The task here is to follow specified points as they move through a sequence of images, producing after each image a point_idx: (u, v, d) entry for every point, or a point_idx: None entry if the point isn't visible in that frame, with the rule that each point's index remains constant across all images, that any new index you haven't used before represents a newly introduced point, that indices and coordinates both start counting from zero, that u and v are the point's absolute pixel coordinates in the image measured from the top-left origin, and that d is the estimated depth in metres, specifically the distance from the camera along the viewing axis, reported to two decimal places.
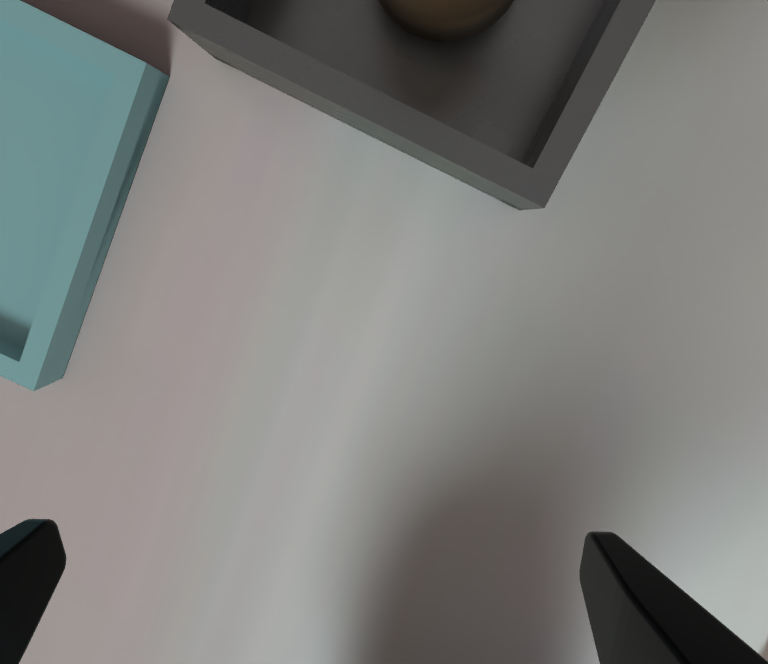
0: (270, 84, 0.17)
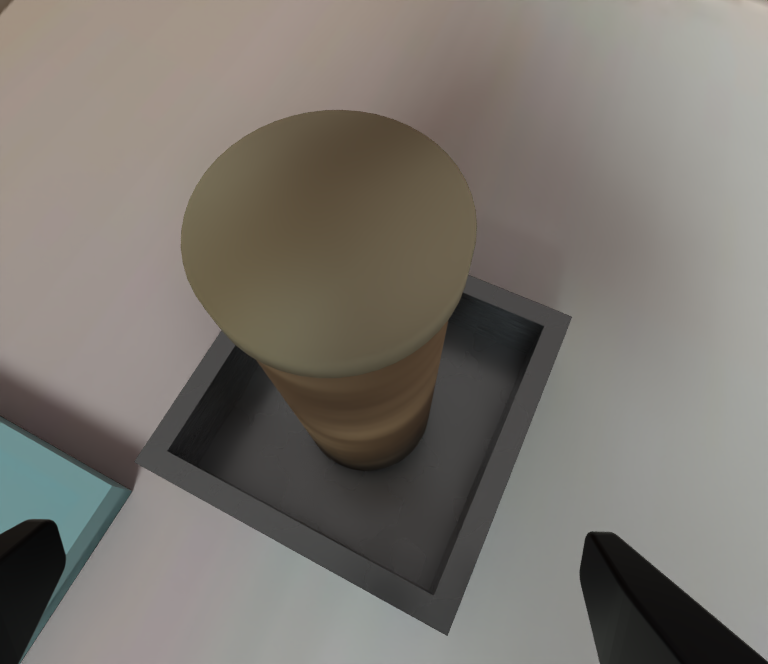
0: None
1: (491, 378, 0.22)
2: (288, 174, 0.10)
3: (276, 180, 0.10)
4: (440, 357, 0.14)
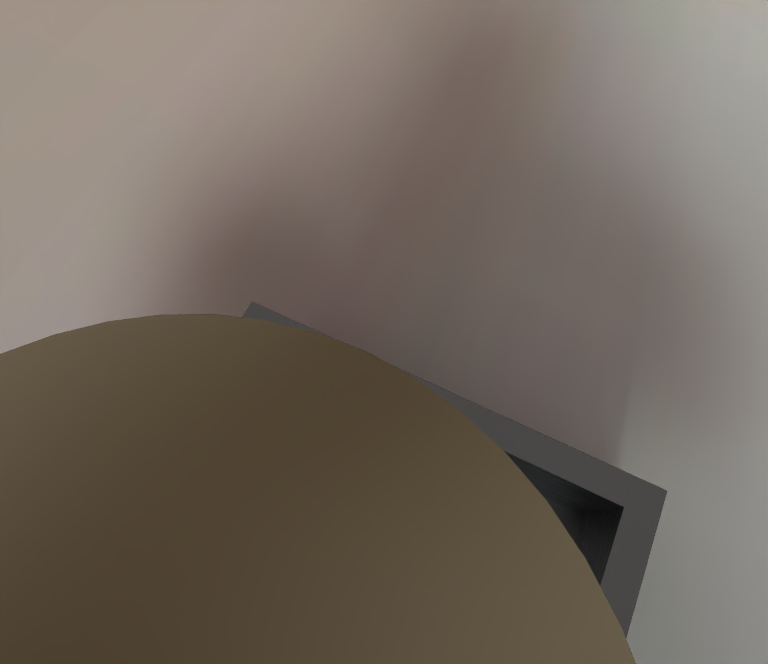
0: None
1: None
2: None
3: None
4: None
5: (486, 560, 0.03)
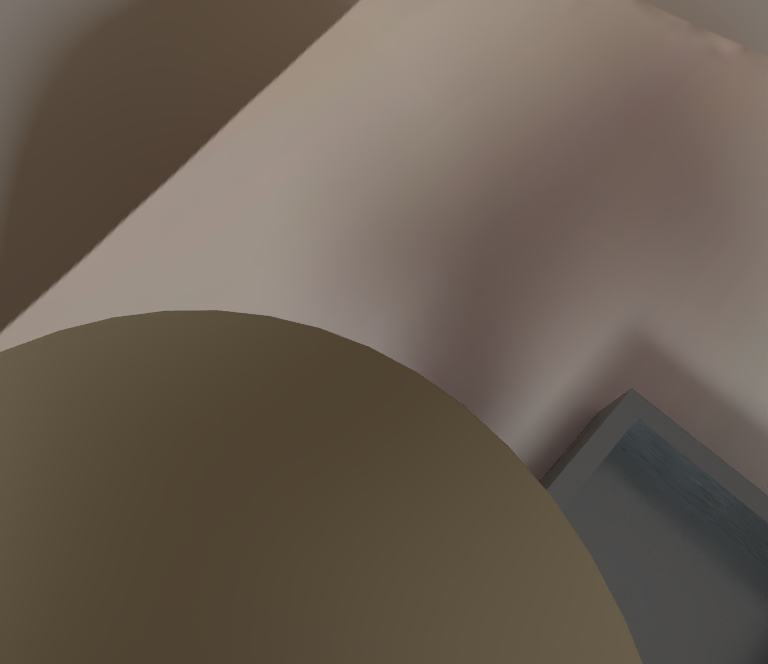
0: None
1: None
2: (5, 575, 0.03)
3: None
4: None
5: (490, 555, 0.03)
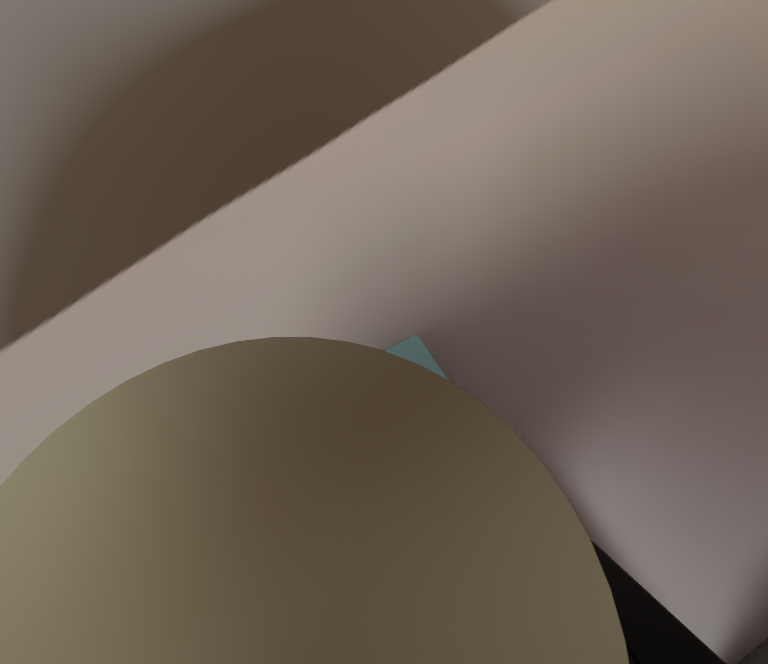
0: None
1: None
2: (179, 514, 0.04)
3: (149, 533, 0.04)
4: None
5: (504, 502, 0.04)
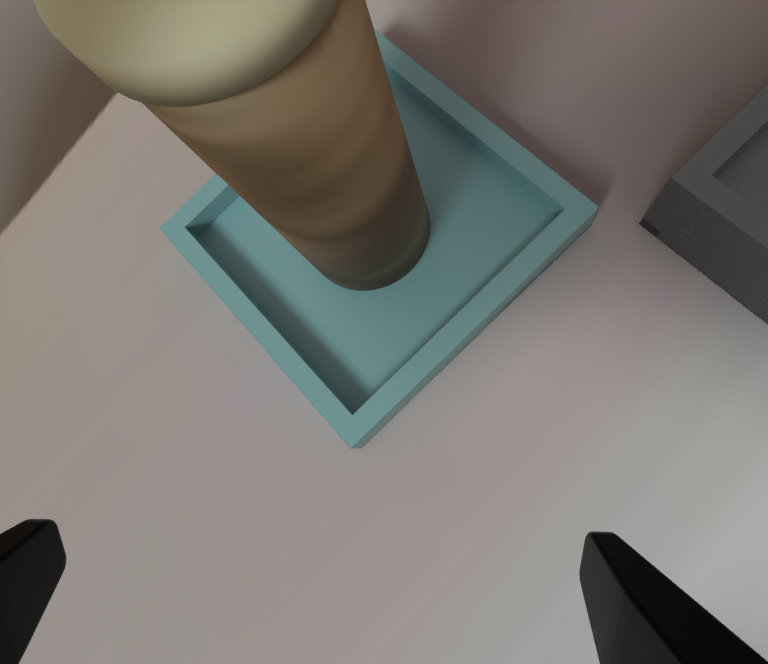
0: (693, 258, 0.18)
1: None
2: None
3: None
4: (391, 107, 0.13)
5: None
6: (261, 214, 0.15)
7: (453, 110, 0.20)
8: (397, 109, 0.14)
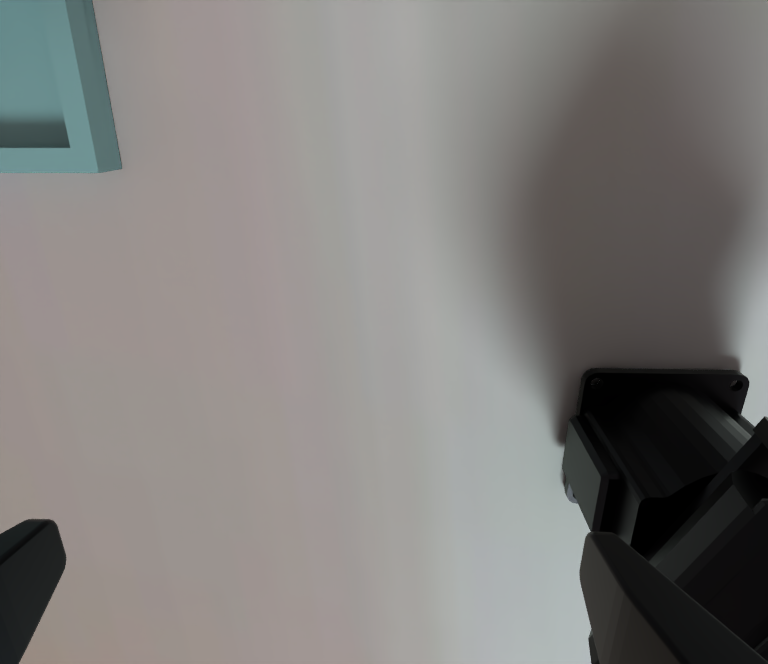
0: None
1: None
2: None
3: None
4: None
5: None
6: None
7: None
8: None
